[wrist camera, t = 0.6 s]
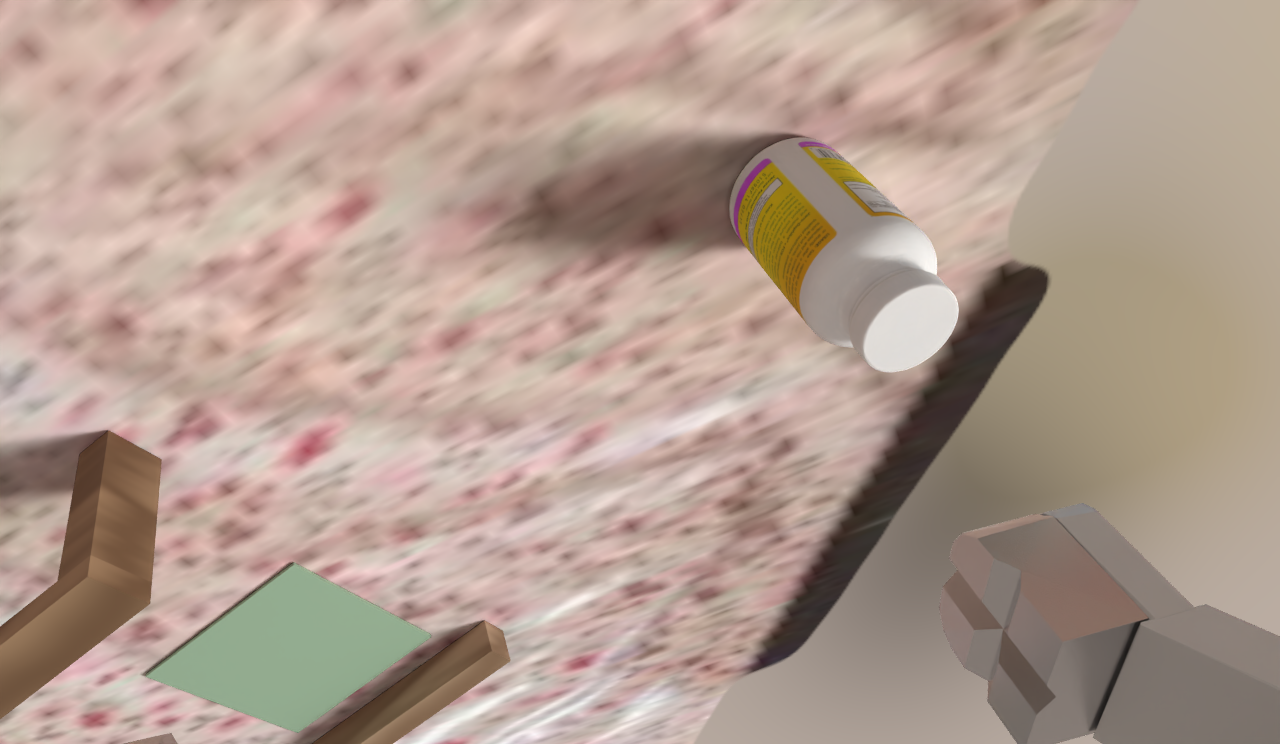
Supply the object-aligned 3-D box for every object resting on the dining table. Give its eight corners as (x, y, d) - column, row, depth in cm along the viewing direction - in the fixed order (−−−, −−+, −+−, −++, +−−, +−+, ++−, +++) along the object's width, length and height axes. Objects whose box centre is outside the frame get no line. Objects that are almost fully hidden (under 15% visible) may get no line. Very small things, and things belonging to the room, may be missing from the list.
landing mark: (145, 674, 57) (145, 676, 57) (293, 562, 56) (293, 565, 55) (297, 730, 65) (297, 733, 65) (430, 634, 64) (431, 636, 63)
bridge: (-96, 597, 48) (-149, 762, 42) (108, 430, 46) (87, 576, 40) (-37, 618, 50) (-79, 779, 44) (161, 459, 48) (149, 603, 42)
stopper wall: (287, 761, 67) (289, 794, 65) (484, 620, 64) (491, 650, 63) (309, 768, 68) (311, 800, 67) (502, 630, 66) (510, 660, 64)
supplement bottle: (734, 262, 52) (844, 412, 43) (715, 159, 48) (833, 301, 38) (845, 219, 53) (977, 357, 44) (836, 113, 48) (981, 242, 39)
